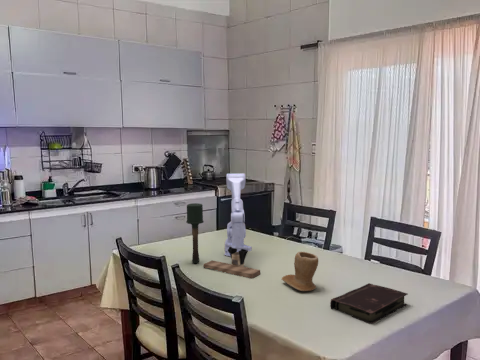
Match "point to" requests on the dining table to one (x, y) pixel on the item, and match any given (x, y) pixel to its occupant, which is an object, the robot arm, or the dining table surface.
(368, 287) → the diary
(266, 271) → the dining table surface
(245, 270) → the board
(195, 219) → the potato masher grenade
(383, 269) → the dining table surface
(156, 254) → the dining table surface
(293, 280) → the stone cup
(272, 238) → the dining table surface
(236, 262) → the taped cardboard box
